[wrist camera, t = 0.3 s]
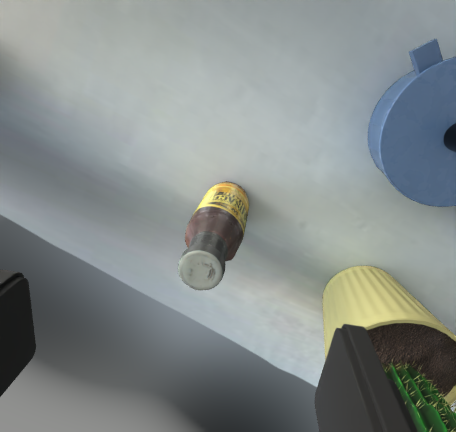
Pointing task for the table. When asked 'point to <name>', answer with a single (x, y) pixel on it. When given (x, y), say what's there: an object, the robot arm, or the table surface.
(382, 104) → the pan
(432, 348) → the potted cactus
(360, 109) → the table surface
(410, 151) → the lid
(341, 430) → the robot arm
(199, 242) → the sauce bottle
